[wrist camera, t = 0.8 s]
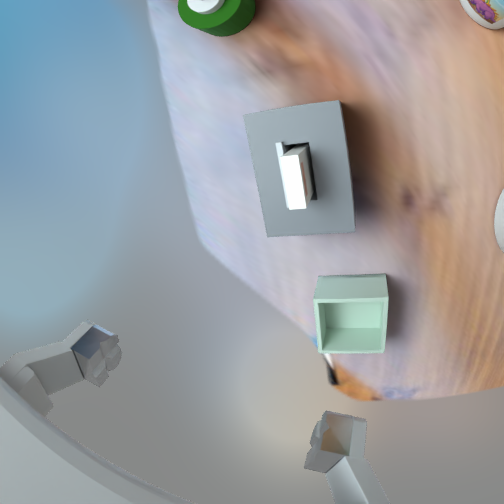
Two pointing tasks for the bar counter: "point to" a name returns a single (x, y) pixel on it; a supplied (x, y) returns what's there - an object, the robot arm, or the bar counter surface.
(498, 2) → the milk bottle
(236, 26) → the candle
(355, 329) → the stub box
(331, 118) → the block
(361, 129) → the bar counter surface
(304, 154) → the pale bar
